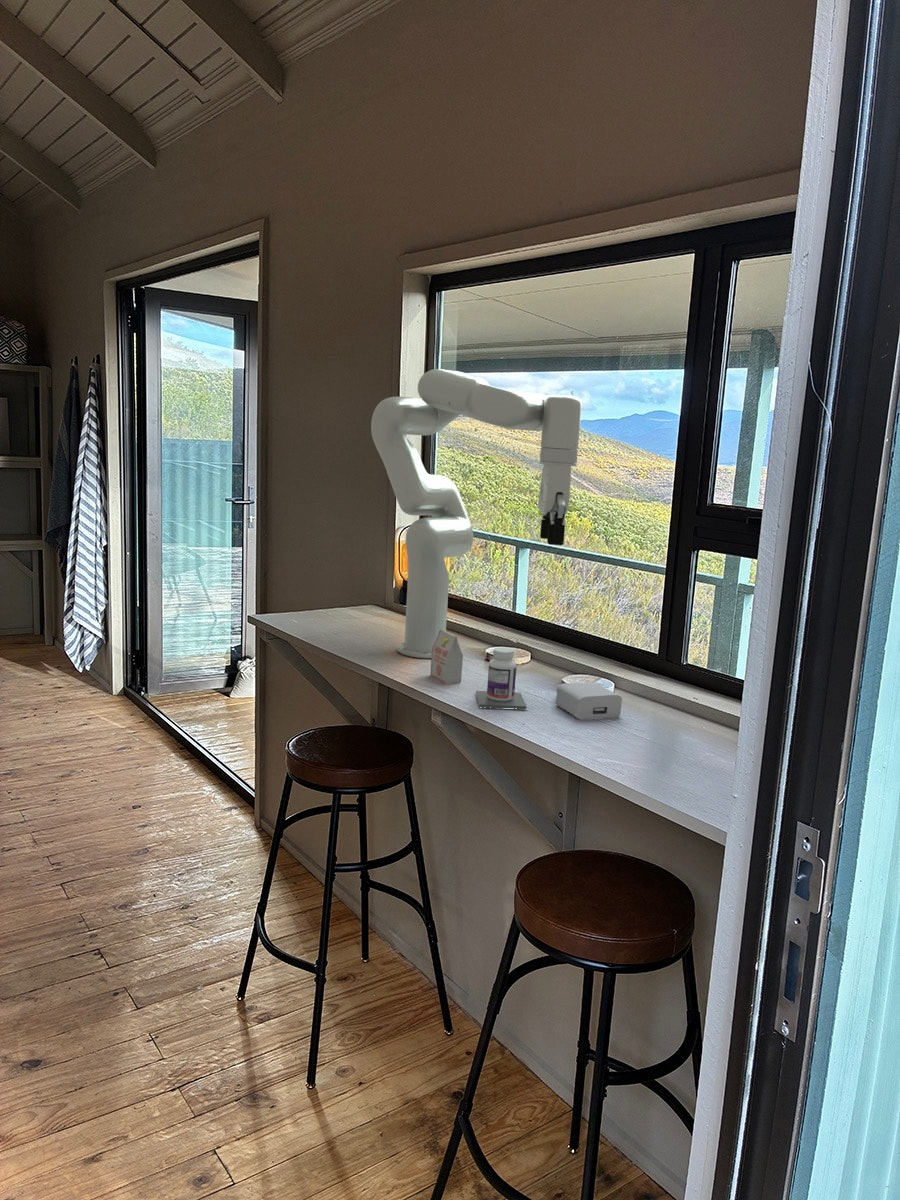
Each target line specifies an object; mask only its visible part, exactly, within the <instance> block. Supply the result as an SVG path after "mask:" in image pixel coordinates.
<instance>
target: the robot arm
mask: <svg viewBox="0 0 900 1200" xmlns="http://www.w3.org/2000/svg"><path fill="white" fill-rule="evenodd" d="M417 393H418V396H419V397H410V396H391V397H387V398H384V399H383V400H380V401H379V403H378V404H377V405H376V407H375V409H374V411H373V414H372V418H371V425H370V428H371V429H370V430H371V437H372V440H373V443H374V445H375V446H374V447H376V450H377V452H378V454H379V456H380V458H381V460H382V462H383V465H384V467H385V470H386V473H387V476H388V479H389V481H390V484H391V487H392V490H393V493H394V496H395V498H396V500H397V503H398V505H399V507H400V510H401V511H402V512H403V513H404V514H405V515H408V516H416V517H417V516H428V517H423V518H420V519H419V518H418V519H417V520H415V521H413V522H412V523H411V524H410V525H409V526H408V529H407V530H406V533H405V548H406V549H405V550H406V555H407V556H406V557H407V587H406V588H407V591H406V605H405V606H406V607H405V626H404V641H403V642H402V643H399V644H398V645H397V652H399V654H401V655H402V656H403V655H404V656H407V657H412V658H420V659H431V657H432V648H433V646H434V643H435V641H436V639H437V637H438V634H439V631H440V630H441V629H442V630H444V631H446V632H447V618H448V616H447V615H448V604H449V603H448V602H449V601H448V600H449V599H448V598H449V587H450V586H449V583H450V577H449V571H448V570H449V569H448V567H447V564H446V562H445V558H455V557H459V556H463V555H465V554H467V553H468V552H469V551H470V550H471V548H472V547H473V543H474V531H473V525H472V524H471V521H470V518H469V515H468V512H467V509H466V508H465V503H464V501H463V499H462V496H461V494H460V492H459V490H458V487H457V486H456V483H454V482H453V480H451V478H449V477H448V476H445V475H442V474H435V473H434V474H433V473H431V474H429V473H428V472H427V470H426V468H425V466H424V463H423V461H422V458H421V456H420V454H419V452H418V450H417V448H416V447H415V446H414V445H413V443H412V442H411V441H410V440H409V439H408V437H407V435H410V436H413V435H414V436H431V435H434V434H437V433H438V432H440V431H441V430H443V429H444V428H446V426H448V425H450V424H451V423H452V422H453V421H454V420H456V419H457V418H458V417H460V416H463V417H467V418H470V419H473V420H476V421H478V422H481V423H485V424H488V425H493V426H495V427H500V428H503V429H509V430H516V431H517V430H519V431H530V432H541V440H540V451H539V461H538V462H539V464H540V465H542V471H541V477H540V485H539V492H538V495H539V496H538V501H537V502H538V503H537V509H538V511H539V512H541V513H542V516H541V518H542V519H541V520H540V521H541V522H540V524H541V525H540V533H539V538H540V539H543V540H544V539H546V540H547V544H548V545H553V546H563V545H564V542H565V532H566V530H565V529H566V514H567V513H568V511H569V507H570V506H569V505H570V494H571V478H572V467H577V465H578V464H577V463H578V451H579V450H578V449H579V442H580V440H579V439H580V430H581V418H582V407H583V406H582V405H583V404H582V399H580V398H579V397H577V396H574V395H565V394H564V395H563V394H552V395H545V394H541V393H533V392H523V391H517V390H516V391H515V390H510V389H505V388H502V387H501V388H500V387H497V386H493V385H490V384H489V382H488V381H487V380H485V379H484V378H481V377H475V376H472V375H468V374H467V373H465V372H462V371H457V370H448V369H442V368H437V369H436V368H435V369H429V371H425V373H424V374H422V376H420V379H419V380H418V383H417Z"/></svg>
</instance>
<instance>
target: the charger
mask: <svg viewBox="0 0 900 1200" xmlns="http://www.w3.org/2000/svg"><path fill="white" fill-rule="evenodd" d="M554 690H555V691H556V701H555V704H556V706H557V705H558V707H559V708H561V709H562V710H564V711H565V710H566V711H565V712H567V713H568V712H569V713H568V714H570V715H571V714H572V716H573V717H575V718H576V719H578V720H579V719H590V720H596V719H595V718H605V719H615V718H616V719H617V718H619V717H621V713H622V705H623V704H622V702H623V697H622V696H621V695H619V694H617V693H616V692H614V691H612V690H611V689H609V688H607V687H605V686H602V685H601V684H598V683H597V682H595V681H594V682H591V681H588V682H571V683H570V682H569V683H561V684H557V686H556V687H555V688H554Z"/></svg>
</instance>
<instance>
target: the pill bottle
mask: <svg viewBox="0 0 900 1200" xmlns="http://www.w3.org/2000/svg"><path fill="white" fill-rule="evenodd" d="M514 657H515V650H514V648H510V647H502V646H501V647H500V646H499V647H494V648H493V652H492V658H491V659H490V660H489V662H488V674H487V675H488V676H487V690H486V691H487V697H488V698H489V699H491V700H495V701H510V700H513V699H514V694H515V692H516V691H515V689H516V678H517V663H516V660H514Z"/></svg>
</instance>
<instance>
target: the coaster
mask: <svg viewBox="0 0 900 1200" xmlns="http://www.w3.org/2000/svg"><path fill="white" fill-rule="evenodd" d="M475 697H477V698H476V701H478V702H477V704H479V705H478V708H479V707H482V708H481V709H485V708H484V707H486V708H490V707H491V708H514V709H515V708H517V709H526V710H527V707H528V706H527V704H526V702H525V700H524V697H523V695H522V693H521V692H517V691H515V694H514V699H513V700H510V701H495V700H491V699H489V698H488V697H487V690H475Z"/></svg>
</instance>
